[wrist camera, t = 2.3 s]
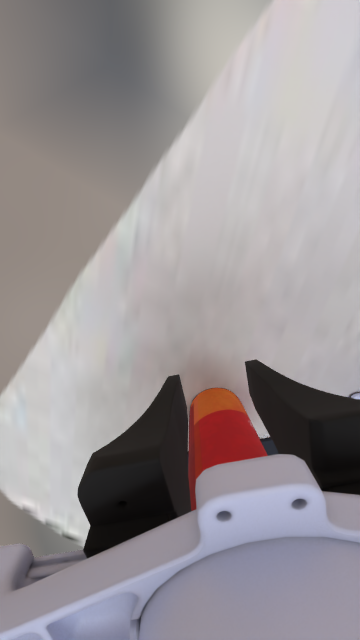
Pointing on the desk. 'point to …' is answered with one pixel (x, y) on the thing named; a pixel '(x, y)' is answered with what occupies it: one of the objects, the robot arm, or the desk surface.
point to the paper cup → (219, 434)
